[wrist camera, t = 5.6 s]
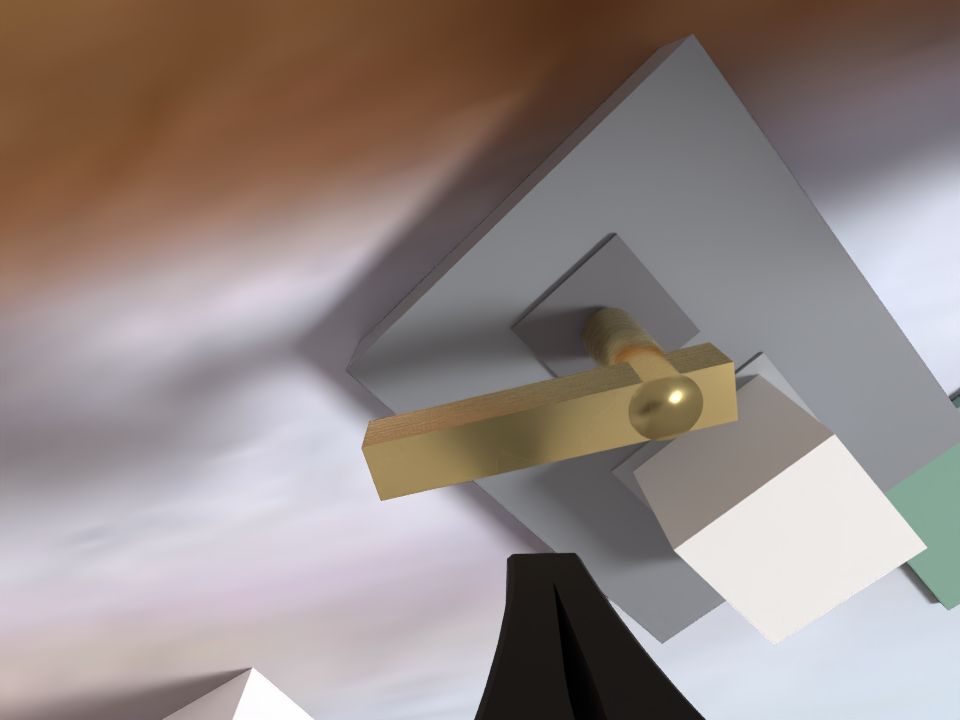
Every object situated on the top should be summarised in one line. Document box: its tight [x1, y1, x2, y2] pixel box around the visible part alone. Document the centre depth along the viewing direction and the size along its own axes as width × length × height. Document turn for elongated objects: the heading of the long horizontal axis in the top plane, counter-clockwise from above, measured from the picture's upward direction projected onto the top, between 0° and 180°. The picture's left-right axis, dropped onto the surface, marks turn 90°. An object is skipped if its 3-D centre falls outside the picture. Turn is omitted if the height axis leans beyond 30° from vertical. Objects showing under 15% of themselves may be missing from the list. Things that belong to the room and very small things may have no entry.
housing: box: [346, 33, 960, 644], centre depth 19 cm, size 13×16×3 cm
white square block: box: [633, 374, 927, 646], centre depth 17 cm, size 5×5×4 cm
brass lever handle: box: [362, 308, 738, 501], centre depth 14 cm, size 2×8×5 cm, turn 104°
